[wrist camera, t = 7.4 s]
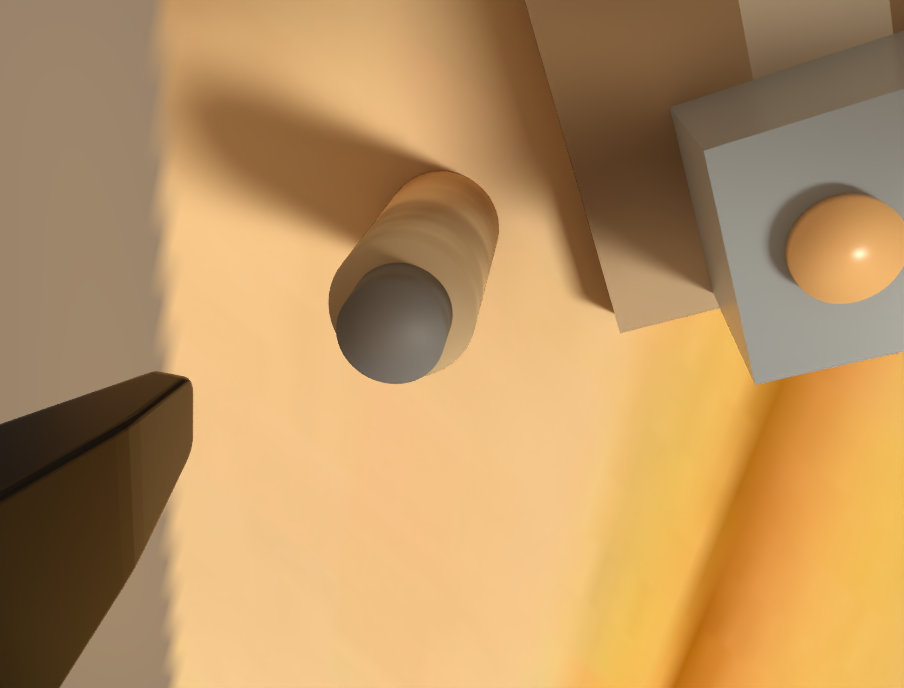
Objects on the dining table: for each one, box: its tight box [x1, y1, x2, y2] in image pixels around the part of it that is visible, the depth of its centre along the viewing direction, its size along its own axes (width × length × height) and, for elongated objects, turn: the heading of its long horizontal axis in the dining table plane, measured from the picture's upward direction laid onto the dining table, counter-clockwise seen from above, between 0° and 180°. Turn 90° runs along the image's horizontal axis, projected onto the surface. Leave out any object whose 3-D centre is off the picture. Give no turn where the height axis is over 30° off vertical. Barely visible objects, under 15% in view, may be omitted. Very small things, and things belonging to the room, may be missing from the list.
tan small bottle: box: [329, 171, 499, 384], centre depth 18 cm, size 3×3×7 cm
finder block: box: [670, 31, 904, 385], centre depth 16 cm, size 5×7×5 cm
